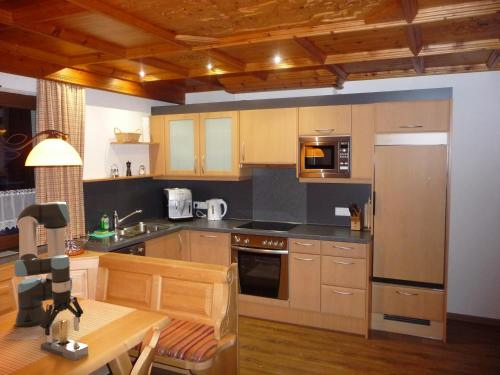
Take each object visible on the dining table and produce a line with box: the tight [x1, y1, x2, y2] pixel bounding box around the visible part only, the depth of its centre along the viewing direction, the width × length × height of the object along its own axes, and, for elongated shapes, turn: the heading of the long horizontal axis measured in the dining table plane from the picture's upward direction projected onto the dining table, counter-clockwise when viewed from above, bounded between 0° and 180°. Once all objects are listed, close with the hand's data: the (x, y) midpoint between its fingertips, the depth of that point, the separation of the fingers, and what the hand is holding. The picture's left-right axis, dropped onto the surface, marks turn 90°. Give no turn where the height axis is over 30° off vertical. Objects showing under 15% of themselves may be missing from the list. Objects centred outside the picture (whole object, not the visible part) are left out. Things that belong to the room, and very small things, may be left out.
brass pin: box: [58, 319, 69, 346], centre depth 188 cm, size 3×3×14 cm
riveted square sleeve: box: [40, 338, 89, 362], centre depth 189 cm, size 24×7×5 cm, turn 60°
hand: (63, 336), depth 188 cm, fingers open, 13 cm apart
